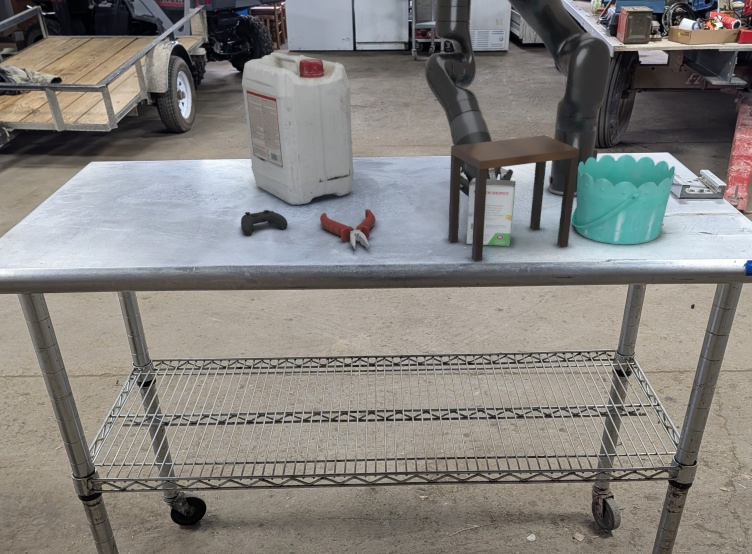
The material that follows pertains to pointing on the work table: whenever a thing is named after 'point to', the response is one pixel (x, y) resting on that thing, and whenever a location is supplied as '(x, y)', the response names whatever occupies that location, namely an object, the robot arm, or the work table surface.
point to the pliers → (350, 229)
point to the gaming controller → (261, 220)
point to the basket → (622, 199)
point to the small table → (511, 155)
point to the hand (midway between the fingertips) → (495, 217)
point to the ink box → (494, 212)
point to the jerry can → (299, 126)
